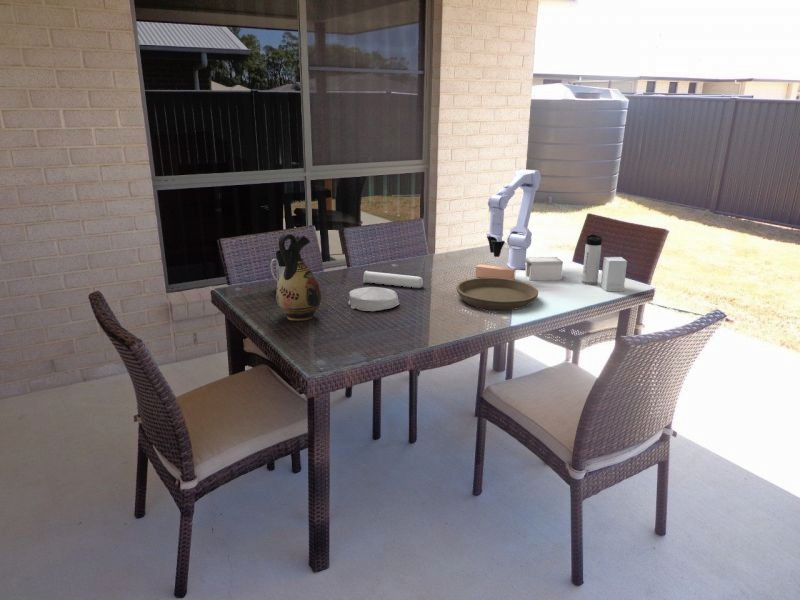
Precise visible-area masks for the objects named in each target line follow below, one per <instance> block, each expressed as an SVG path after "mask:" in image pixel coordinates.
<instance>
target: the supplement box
mask: <svg viewBox="0 0 800 600" xmlns="http://www.w3.org/2000/svg"><path fill="white" fill-rule="evenodd" d="M627 266H628V261H627V260H626V259H625V258H623V257H622V256H603V261H602V271H601V279H600V287H601V288H602V289H603V290H604V291H606V292H624V291H625V282H626V276H627V275H626V273H627Z"/></svg>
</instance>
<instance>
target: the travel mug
mask: <svg viewBox="0 0 800 600" xmlns="http://www.w3.org/2000/svg"><path fill="white" fill-rule="evenodd" d="M585 239H586V240H585V241H586V242H585V246H584V247H585V248H584V258H583V269H582V277H581V283H582V284H584V285H587V284H588V286H594V285H598V281H599V270H600V263H601V252H602V242H603V237H601V236H600V235H596V234H590V235H586V237H585Z"/></svg>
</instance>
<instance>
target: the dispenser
mask: <svg viewBox="0 0 800 600" xmlns="http://www.w3.org/2000/svg"><path fill="white" fill-rule="evenodd" d="M524 261H525V262H526V264H525V265H526V269H525V272H524V275H525V276H526V277H529V278H528V280H529V279H530V280H529V281H560V280H561V281H562V276H563V275H562V274H563V267H564V266H563V263H564V261H562V260H561V259H560V258H559V257H558V256H549V257H548V256H547V257H546V256H545V257H544V256H538V257H535V256H534V257H533V256H532V257H531V256H529V257H527V256H526V258H524Z"/></svg>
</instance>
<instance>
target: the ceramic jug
mask: <svg viewBox="0 0 800 600" xmlns="http://www.w3.org/2000/svg"><path fill="white" fill-rule="evenodd" d="M288 240H290V243H289V246H288V247H287V248H286V247H285V245H286V244H285V243H286V241H288ZM309 244H311V241H310V239H309V238H308V237H307V236H305V235H301V236H299V235H296V236H295V235H294V234H293V233H288V232H286V233H283V234H281V235H280V237H279V239H278V249H279V250H280V252H281V255H282V257H283V261H284V262H285V269H284V271H283V273H282V274H281V276H280V279H279V281H278V284H277V285H276V288H277V289H276V290H275V292H276V293H275V298H276V299H275V300H276V303H277V306H278V308H279V309H280V310H281V311H282V312H283V313H284V314H285V315H286V317H287V319H288V321H303V322H304V321H309V320H312V319H314V318H315V313H316V312H317V310H318V308H319V306H320V305H321V301H322V290H321V287H320V283H319V281H318V279H317V277H316V276H315V274H314V273H313V271H312V270H311V268H310V267H309V265H308V264H306V262H305V261H304V259H303V258H302V255H301V251H302V249H303V248H305V247H306V246H308V245H309ZM279 250H278V251H279ZM286 250H287V251H286ZM287 252H289V253H291V256H290V259H289V257H288V254H287Z"/></svg>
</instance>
